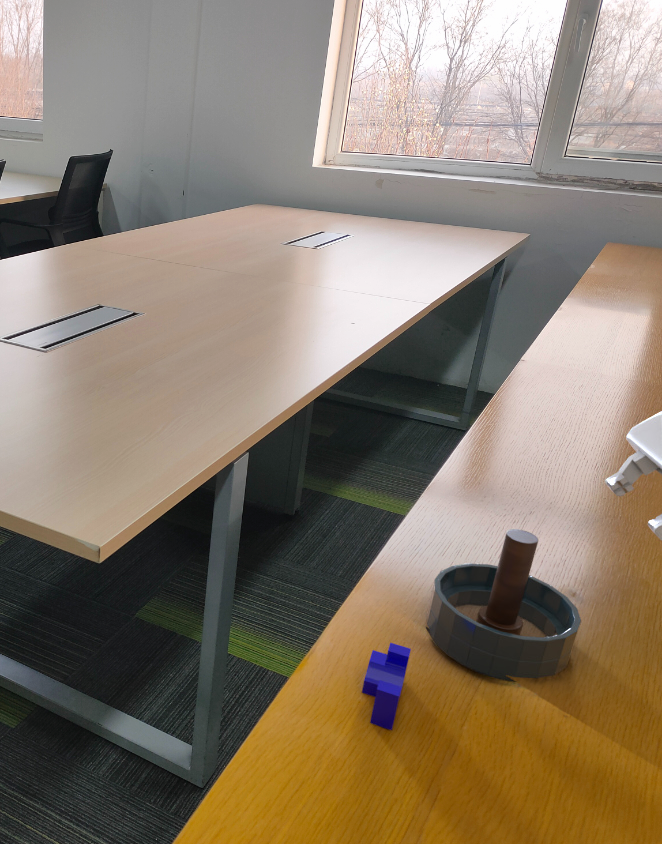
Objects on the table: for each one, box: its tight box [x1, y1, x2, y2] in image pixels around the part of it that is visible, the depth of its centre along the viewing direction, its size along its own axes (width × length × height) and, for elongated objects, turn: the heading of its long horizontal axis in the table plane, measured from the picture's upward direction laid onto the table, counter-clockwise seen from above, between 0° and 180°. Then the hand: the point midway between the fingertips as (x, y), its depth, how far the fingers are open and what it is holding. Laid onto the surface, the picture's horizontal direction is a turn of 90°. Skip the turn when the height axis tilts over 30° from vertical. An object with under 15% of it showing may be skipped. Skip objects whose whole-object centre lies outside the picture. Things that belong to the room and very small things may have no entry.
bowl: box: [425, 562, 582, 683], centre depth 87 cm, size 14×14×6 cm
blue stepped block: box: [361, 642, 412, 731], centre depth 79 cm, size 8×4×4 cm, turn 153°
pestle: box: [475, 528, 539, 636], centre depth 85 cm, size 4×4×13 cm
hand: (631, 510), depth 81 cm, fingers open, 8 cm apart
